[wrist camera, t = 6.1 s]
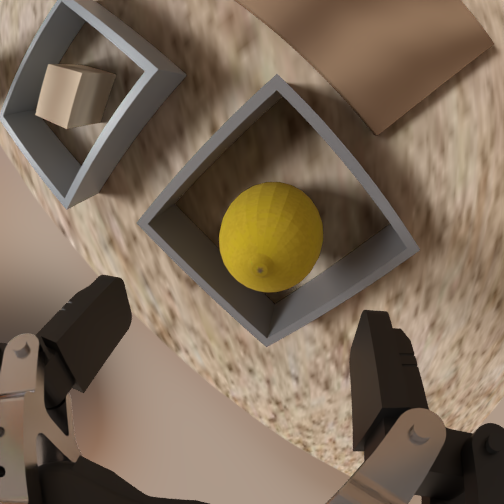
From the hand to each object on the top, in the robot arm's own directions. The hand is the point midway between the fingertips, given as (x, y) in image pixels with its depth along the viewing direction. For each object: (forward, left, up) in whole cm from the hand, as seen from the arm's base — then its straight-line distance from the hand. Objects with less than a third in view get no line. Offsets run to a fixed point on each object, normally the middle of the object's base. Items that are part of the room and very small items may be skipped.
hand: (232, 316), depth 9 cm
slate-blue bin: (+17, +4, -12) cm, 21 cm away
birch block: (+17, +4, -12) cm, 21 cm away
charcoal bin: (0, 0, -12) cm, 12 cm away
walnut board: (+7, -14, -12) cm, 19 cm away
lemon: (0, 0, -12) cm, 12 cm away
